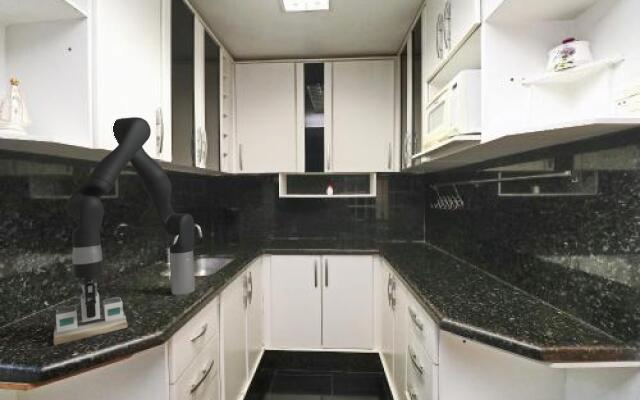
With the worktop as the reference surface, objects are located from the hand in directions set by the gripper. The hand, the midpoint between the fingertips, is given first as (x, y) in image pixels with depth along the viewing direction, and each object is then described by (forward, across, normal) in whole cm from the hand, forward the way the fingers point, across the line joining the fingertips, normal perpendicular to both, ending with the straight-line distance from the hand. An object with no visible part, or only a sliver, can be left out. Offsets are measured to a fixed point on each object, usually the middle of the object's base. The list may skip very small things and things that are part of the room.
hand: (90, 314), depth 103 cm
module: (+1, 0, 0) cm, 1 cm away
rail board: (+5, 0, 0) cm, 5 cm away
